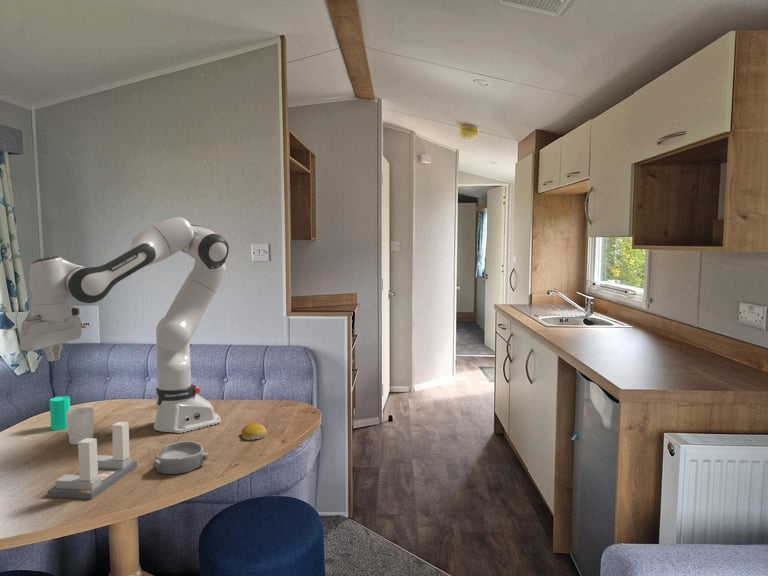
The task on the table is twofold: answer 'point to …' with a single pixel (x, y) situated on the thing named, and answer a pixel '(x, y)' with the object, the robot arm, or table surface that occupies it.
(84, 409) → the white cup
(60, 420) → the candle
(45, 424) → the table surface
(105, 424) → the table surface
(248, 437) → the bread roll
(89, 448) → the front knob
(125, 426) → the rear knob
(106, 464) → the switch box
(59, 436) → the table surface
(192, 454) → the dish
